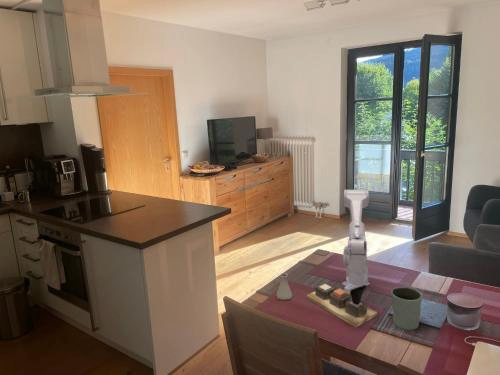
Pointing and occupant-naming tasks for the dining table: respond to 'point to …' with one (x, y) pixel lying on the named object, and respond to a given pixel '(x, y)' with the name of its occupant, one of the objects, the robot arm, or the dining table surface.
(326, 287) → the offwhite button
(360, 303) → the grey button
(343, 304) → the button panel
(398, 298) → the green cylindrical pot
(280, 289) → the flask
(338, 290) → the terracotta button
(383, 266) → the dining table surface
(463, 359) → the dining table surface
